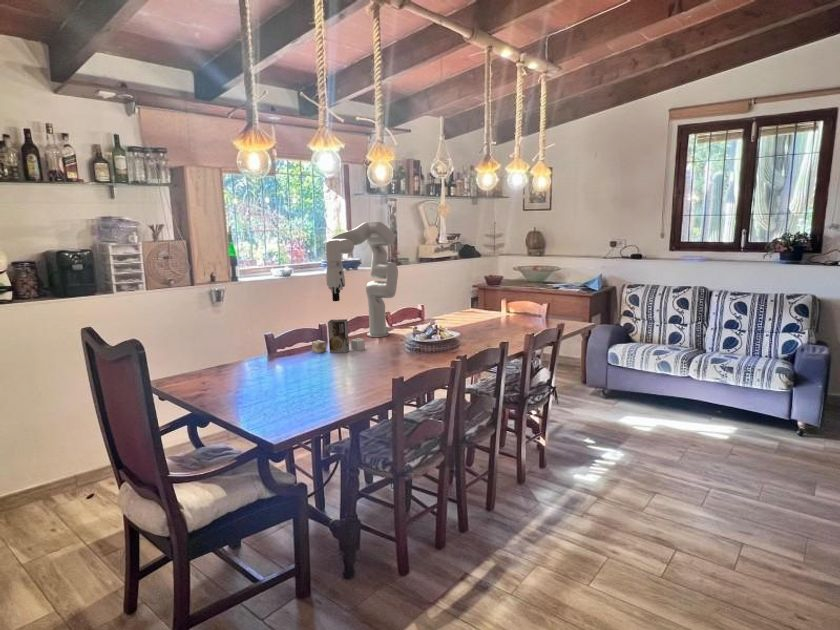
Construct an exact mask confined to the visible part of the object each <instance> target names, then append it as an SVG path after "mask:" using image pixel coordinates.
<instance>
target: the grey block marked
mask: <svg viewBox="0 0 840 630" xmlns="http://www.w3.org/2000/svg"><path fill="white" fill-rule="evenodd" d="M350 349H351V350H354V351H362V350H365V349H366V343H365V339H363V338H359V337H357V338H354V339H351V340H350Z"/></svg>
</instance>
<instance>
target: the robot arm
mask: <svg viewBox="0 0 840 630" xmlns="http://www.w3.org/2000/svg"><path fill="white" fill-rule="evenodd" d="M365 242H367V244H368V246H369V247H370V250H371V253H372V255H371V257H372V258H371V265H370V266H371V267H370V276H371V277H372V279H378V280H371V281H369V282H368V283H367V284H366V286H365V293H366V296H367V303H368V305H367V306H368V323H369V325H368V327H369V332H367V333H366V336H367V337H370V338H383V337H388V336H389V334H390V332H388V331H390V330H391V331H392V330H393V327H392V326H387V321H386V320H387V318H386V304H385V301H384V299H392V298H394V297H395V296H396V293H397V286H398V277H399V269H398V266H397V264H396V263H394V262H389V261H388V253H387V250H386V248H385V247H386V246H387V247H388V246H392V245H393V244H394V243H395V242H396V235H395V233H394V232H393V230H392V229H391V228H390V227H388V226H387V225H385V223H384V222H383V223H382V222H381V221H365V222H363V223H361V224H360V225H358V226H357V227H355V228H353V229H350V230H348V231H344V232H342V233H338V234H336V235H334V236H332V237H330V238H329V239H328V240H326V241H325V252H326V253H325V254H326V255H325V256H326V286H327V289H329V290H330V291H331V296H332V298H331V299H332V302H340V299H341V298H340V293H341V291H343V290H344V287H346V278H345V272H344V267H343V260H342V255H348V254H351V253H352V252H353V250H354V249H355V246H357V245H361V244H363V243H365ZM383 280H384V281H383ZM385 280H386V281H385Z"/></svg>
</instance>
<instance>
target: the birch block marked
mask: <svg viewBox="0 0 840 630" xmlns="http://www.w3.org/2000/svg"><path fill="white" fill-rule="evenodd" d="M326 345H327V343H326V341H324V340H315V341H312V342H311V348H312V353H317V354H319V353H323V352H326V351H327V346H326Z"/></svg>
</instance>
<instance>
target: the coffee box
mask: <svg viewBox="0 0 840 630" xmlns="http://www.w3.org/2000/svg"><path fill="white" fill-rule="evenodd" d="M348 325H349V324H348V319H343V318H342V319H338V318H337V319H329V320H328V321H327V333H328V346H329V348H328V349H329V353H348V351H349V350H350V343H349V341H350V339H349V326H348Z"/></svg>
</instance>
